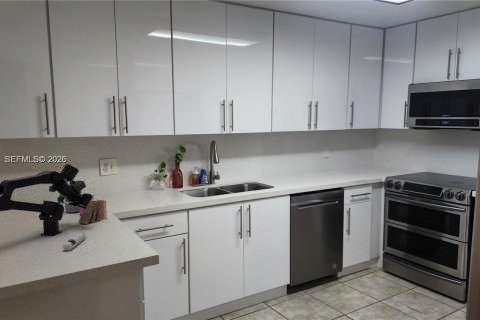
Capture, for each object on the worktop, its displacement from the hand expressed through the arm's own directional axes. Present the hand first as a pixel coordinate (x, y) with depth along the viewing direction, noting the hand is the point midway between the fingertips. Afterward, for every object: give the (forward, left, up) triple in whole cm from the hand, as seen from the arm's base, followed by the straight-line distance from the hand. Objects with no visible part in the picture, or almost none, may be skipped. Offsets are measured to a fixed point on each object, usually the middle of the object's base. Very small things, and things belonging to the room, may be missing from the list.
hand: (85, 207), depth 179 cm
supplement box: (+16, +8, -8) cm, 20 cm away
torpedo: (-30, -12, -8) cm, 34 cm away
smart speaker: (+22, +19, -8) cm, 31 cm away
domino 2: (+2, -1, -7) cm, 8 cm away
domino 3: (+6, -2, -8) cm, 10 cm away
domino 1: (-2, +1, -7) cm, 8 cm away
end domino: (+9, -3, -8) cm, 13 cm away
